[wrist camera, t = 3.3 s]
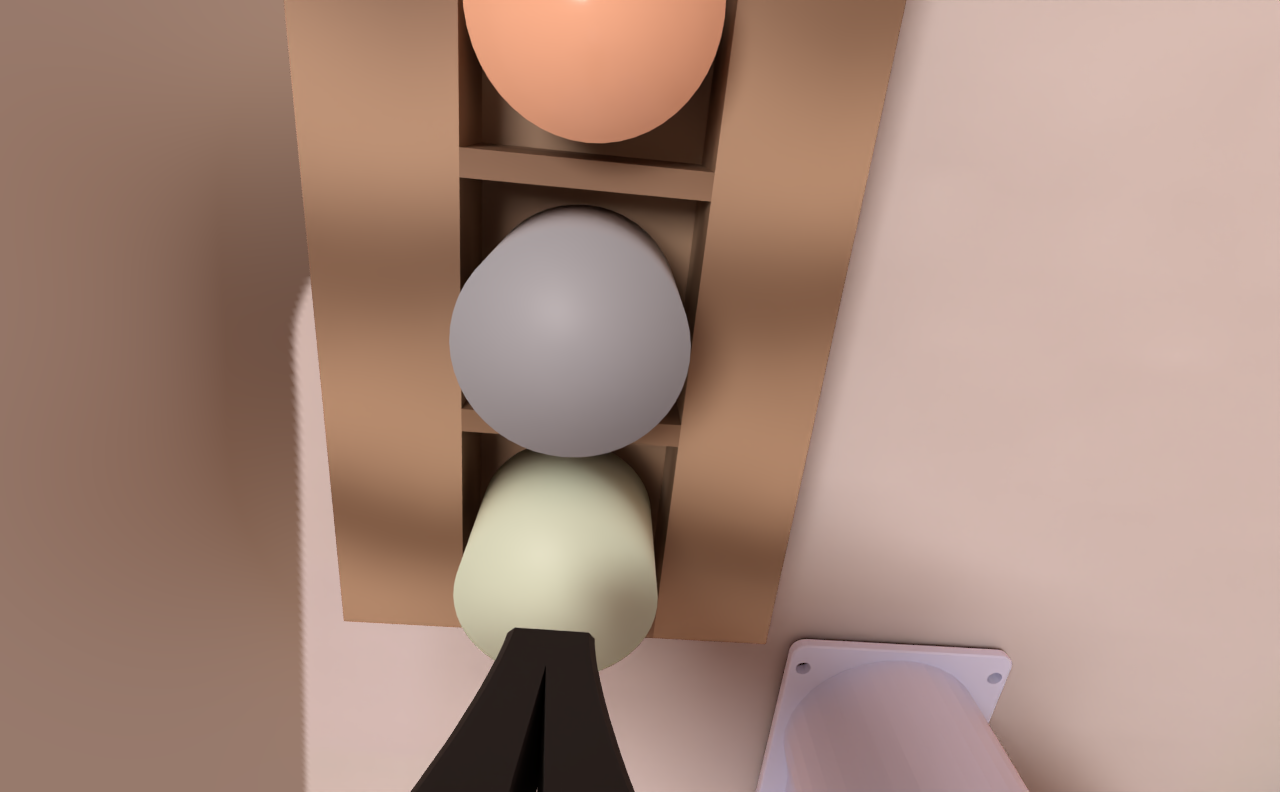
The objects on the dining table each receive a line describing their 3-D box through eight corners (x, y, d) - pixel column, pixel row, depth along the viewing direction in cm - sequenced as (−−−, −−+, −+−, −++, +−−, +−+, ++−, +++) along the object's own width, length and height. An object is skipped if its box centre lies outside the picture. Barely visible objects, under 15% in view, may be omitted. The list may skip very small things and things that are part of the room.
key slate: (665, 398, 17) (675, 465, 14) (483, 384, 17) (451, 449, 13) (687, 214, 15) (705, 241, 12) (484, 194, 15) (447, 217, 12)
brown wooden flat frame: (745, 572, 22) (765, 643, 19) (382, 549, 22) (344, 621, 19) (878, -113, 15) (942, -169, 12) (335, -182, 14) (257, -262, 11)
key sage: (642, 587, 19) (647, 682, 16) (482, 577, 19) (454, 672, 16) (659, 447, 18) (668, 522, 14) (483, 434, 17) (452, 507, 14)
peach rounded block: (689, 146, 16) (707, 154, 13) (495, 126, 16) (462, 130, 12) (716, -84, 14) (745, -142, 11) (497, -111, 14) (461, -179, 11)
